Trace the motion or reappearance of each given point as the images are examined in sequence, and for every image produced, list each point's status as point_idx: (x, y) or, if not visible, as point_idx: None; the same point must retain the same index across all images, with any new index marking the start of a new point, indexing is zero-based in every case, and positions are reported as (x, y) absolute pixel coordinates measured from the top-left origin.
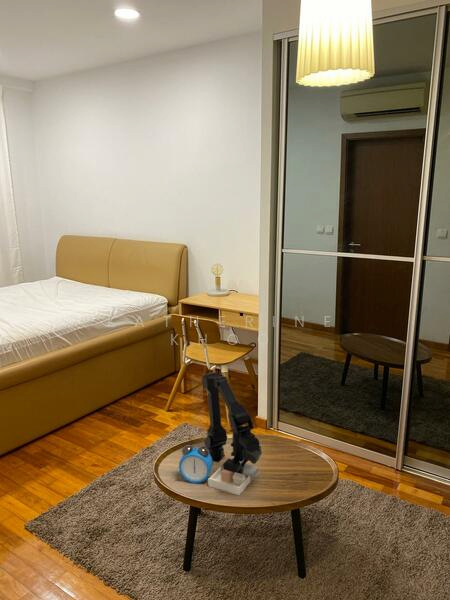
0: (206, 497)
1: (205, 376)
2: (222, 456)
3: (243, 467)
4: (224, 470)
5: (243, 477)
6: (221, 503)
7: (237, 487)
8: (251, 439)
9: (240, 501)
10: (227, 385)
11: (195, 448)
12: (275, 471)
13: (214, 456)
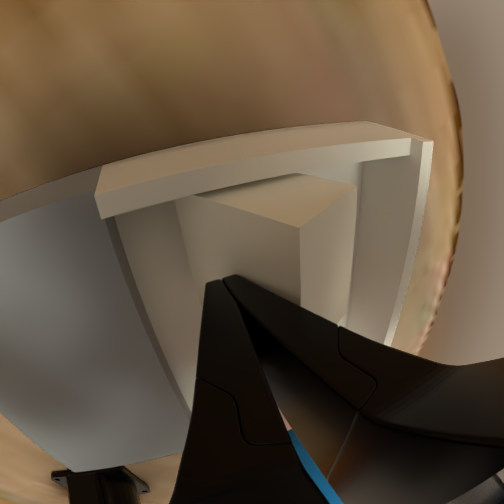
0: (423, 283)
1: None
2: (82, 484)
3: (257, 378)
4: (287, 422)
5: (314, 203)
6: (450, 185)
7: (430, 160)
8: None
9: (410, 79)
10: None
11: None
12: None
13: (129, 497)
